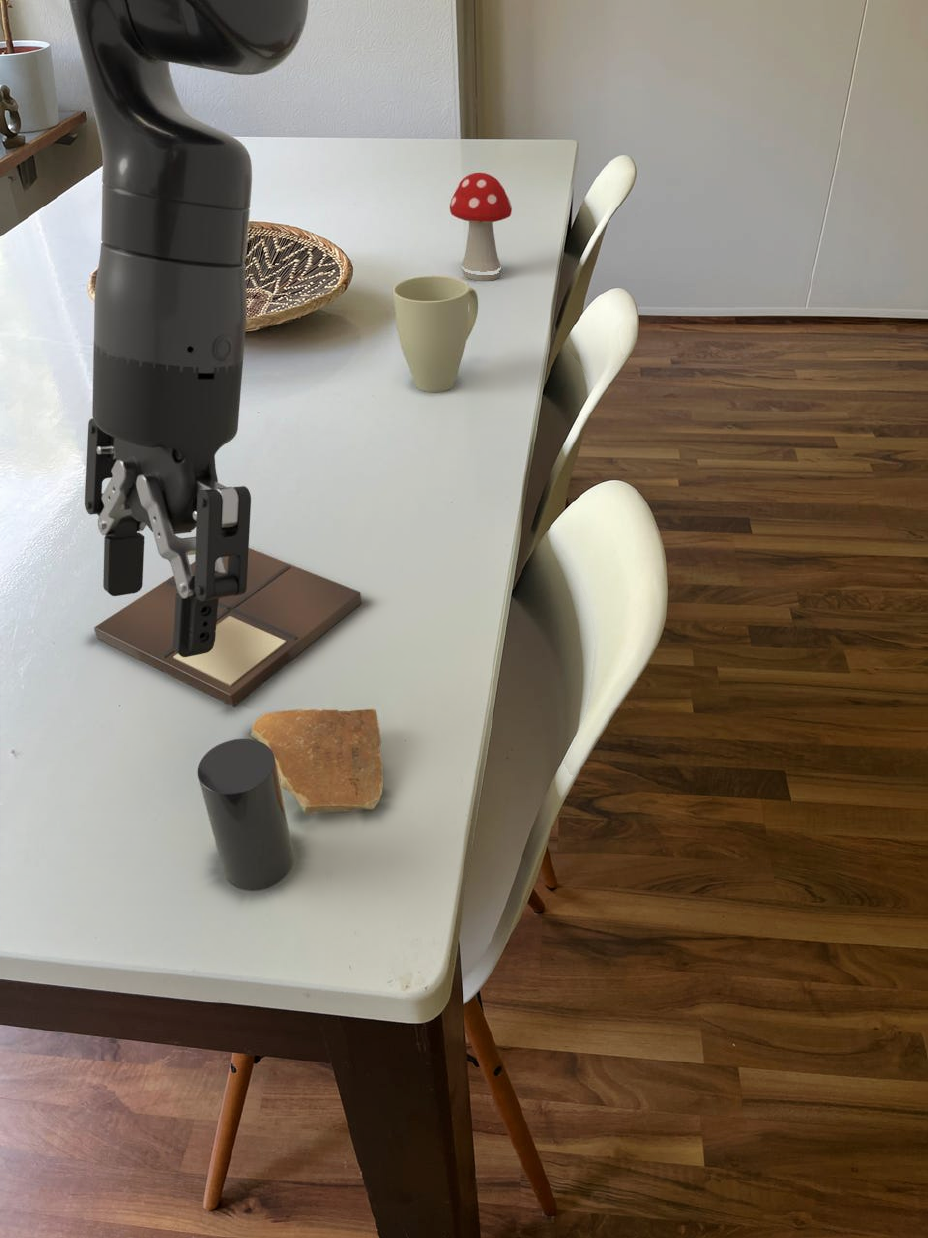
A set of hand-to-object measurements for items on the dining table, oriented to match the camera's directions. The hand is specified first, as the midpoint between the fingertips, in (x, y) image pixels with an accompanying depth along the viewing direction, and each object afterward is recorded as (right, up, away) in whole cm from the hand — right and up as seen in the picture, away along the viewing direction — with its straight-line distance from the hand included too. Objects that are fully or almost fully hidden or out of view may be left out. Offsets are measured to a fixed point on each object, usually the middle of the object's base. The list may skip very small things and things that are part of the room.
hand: (156, 621), depth 58 cm
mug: (+15, +30, +66) cm, 74 cm away
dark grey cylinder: (+5, -16, +6) cm, 18 cm away
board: (-2, 0, +27) cm, 27 cm away
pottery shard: (+7, -11, +13) cm, 18 cm away
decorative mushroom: (+21, +54, +97) cm, 113 cm away
